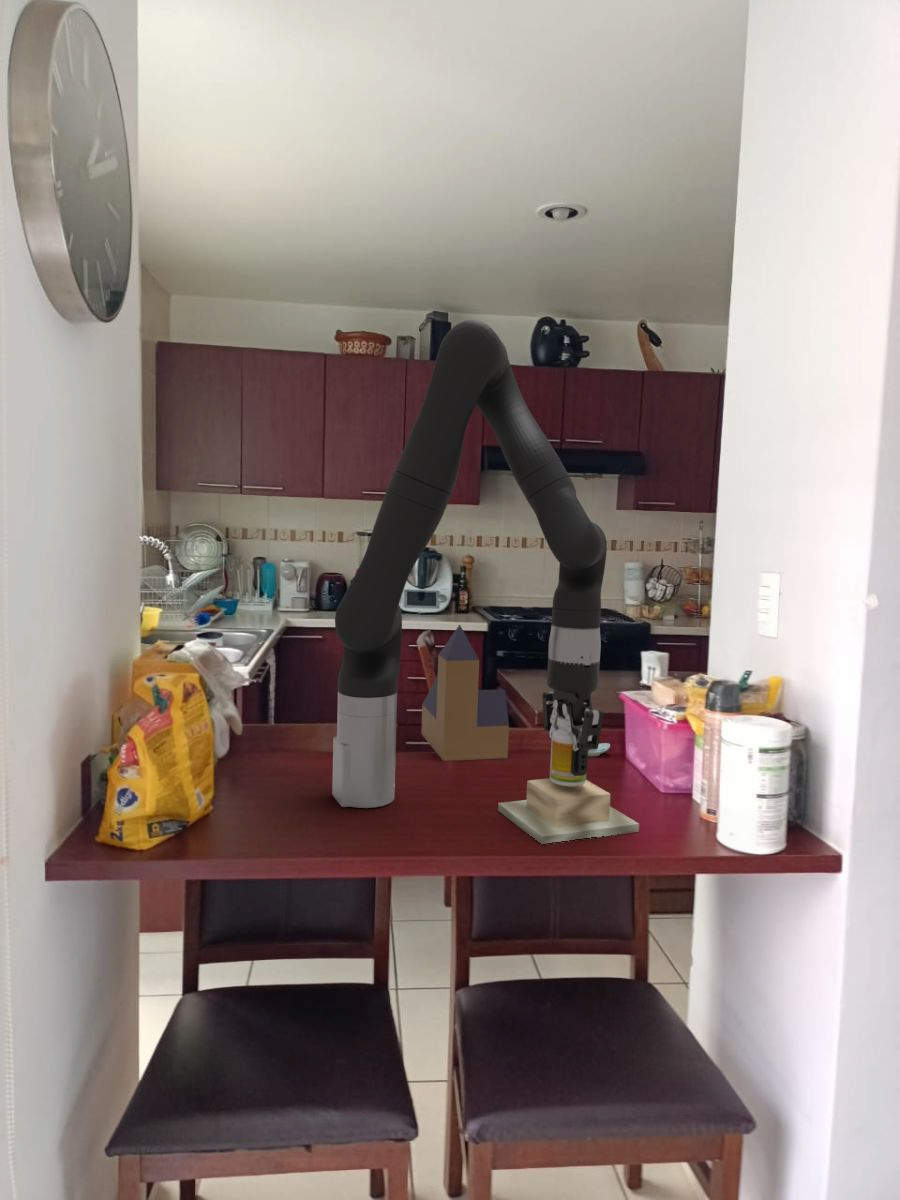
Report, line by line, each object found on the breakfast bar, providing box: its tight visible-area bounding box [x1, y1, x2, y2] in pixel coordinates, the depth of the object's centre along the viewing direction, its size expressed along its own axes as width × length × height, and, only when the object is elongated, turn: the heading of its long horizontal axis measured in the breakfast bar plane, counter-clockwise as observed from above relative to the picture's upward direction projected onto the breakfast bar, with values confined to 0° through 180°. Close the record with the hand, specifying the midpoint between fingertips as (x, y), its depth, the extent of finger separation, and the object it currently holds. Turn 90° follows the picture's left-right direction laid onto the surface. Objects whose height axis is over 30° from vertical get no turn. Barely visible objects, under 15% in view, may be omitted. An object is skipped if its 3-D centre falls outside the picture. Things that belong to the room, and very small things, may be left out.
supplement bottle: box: [549, 716, 587, 786], centre depth 123 cm, size 5×5×10 cm
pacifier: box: [588, 735, 611, 757], centre depth 160 cm, size 7×6×6 cm
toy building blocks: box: [420, 624, 510, 762], centre depth 161 cm, size 12×19×25 cm
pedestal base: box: [497, 777, 640, 845], centre depth 123 cm, size 16×14×5 cm
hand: (568, 768), depth 123 cm, fingers closed on supplement bottle, 5 cm apart
